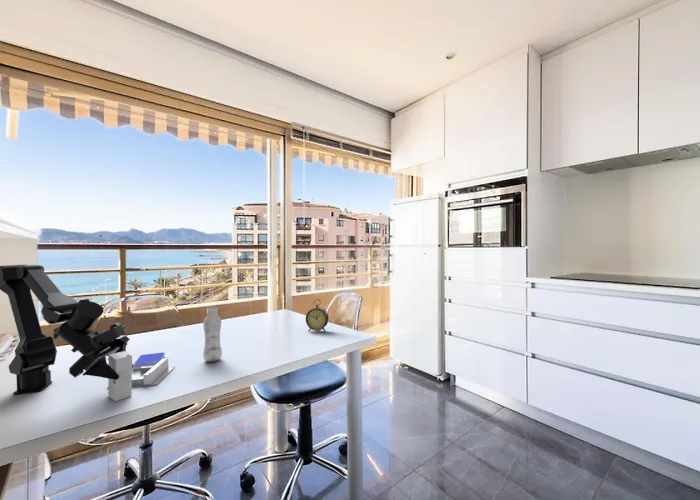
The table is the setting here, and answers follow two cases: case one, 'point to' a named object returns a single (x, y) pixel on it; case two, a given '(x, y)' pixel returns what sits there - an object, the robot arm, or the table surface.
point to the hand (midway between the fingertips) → (125, 373)
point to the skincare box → (123, 368)
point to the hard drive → (148, 360)
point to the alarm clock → (317, 318)
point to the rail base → (141, 375)
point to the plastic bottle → (212, 335)
